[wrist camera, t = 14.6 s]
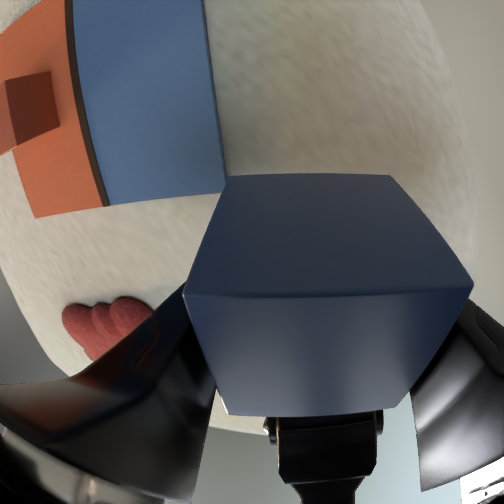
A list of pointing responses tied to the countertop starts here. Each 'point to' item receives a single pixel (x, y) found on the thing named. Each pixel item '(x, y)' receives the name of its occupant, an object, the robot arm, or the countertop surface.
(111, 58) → the sorting mat
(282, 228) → the slate-blue block
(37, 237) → the countertop surface
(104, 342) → the red lumpy blob
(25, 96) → the terracotta block
